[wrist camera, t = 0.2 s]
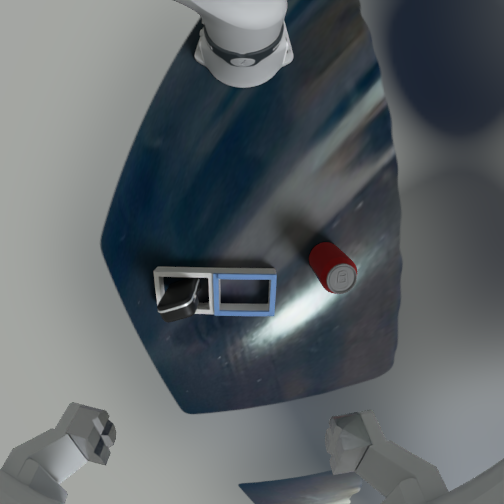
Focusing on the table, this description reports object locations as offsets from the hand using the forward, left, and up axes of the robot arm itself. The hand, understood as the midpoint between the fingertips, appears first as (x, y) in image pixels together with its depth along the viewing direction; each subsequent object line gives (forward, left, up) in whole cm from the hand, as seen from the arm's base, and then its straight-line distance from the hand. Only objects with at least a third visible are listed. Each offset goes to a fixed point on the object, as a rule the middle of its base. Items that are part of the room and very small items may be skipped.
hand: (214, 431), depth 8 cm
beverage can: (+9, +17, -48) cm, 51 cm away
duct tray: (+16, -5, -47) cm, 50 cm away
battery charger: (+16, -11, -48) cm, 51 cm away
